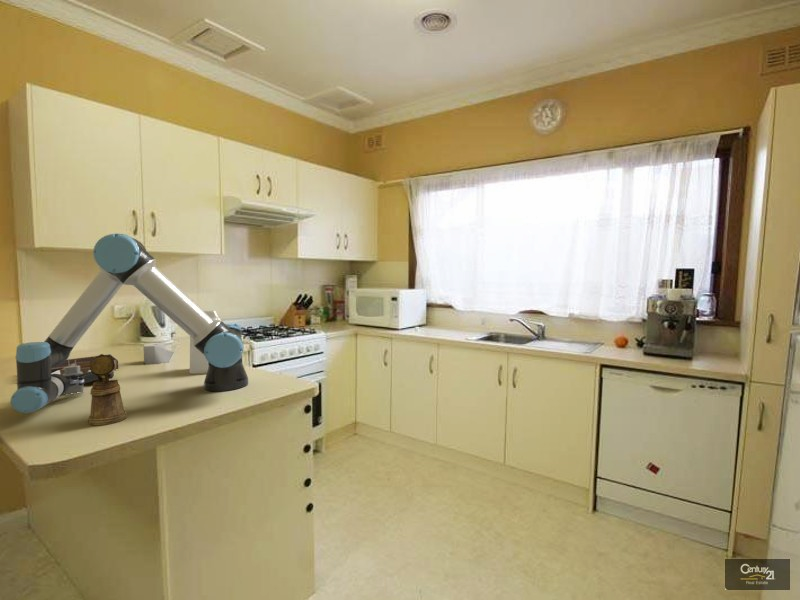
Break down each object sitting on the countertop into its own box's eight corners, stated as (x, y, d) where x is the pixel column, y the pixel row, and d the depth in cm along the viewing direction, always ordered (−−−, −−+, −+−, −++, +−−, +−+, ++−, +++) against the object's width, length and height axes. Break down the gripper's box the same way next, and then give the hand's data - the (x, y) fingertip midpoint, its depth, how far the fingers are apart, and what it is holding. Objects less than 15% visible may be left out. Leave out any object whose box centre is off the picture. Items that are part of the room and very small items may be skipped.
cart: (105, 384, 159) (104, 366, 159) (61, 388, 154) (59, 370, 154) (116, 376, 172) (115, 359, 172) (76, 379, 167) (74, 362, 167)
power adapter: (64, 393, 148) (62, 360, 147) (83, 390, 151) (81, 358, 150) (64, 395, 145) (61, 361, 145) (83, 392, 149) (81, 359, 148)
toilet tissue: (172, 363, 197) (171, 345, 197) (140, 364, 194) (139, 346, 193) (177, 359, 206) (176, 342, 205) (147, 361, 203) (146, 343, 202)
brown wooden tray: (31, 383, 165) (30, 371, 164) (29, 375, 178) (28, 364, 178) (118, 370, 185) (117, 359, 184) (110, 364, 198) (110, 354, 198)
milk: (230, 367, 186) (227, 309, 184) (216, 373, 174) (213, 311, 173) (205, 367, 187) (202, 309, 185) (189, 373, 175) (186, 312, 174)
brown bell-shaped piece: (122, 409, 129) (119, 351, 128) (128, 420, 119) (124, 358, 118) (87, 415, 123) (83, 356, 122) (90, 428, 113) (85, 363, 112)
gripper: (5, 404, 127) (39, 386, 148) (94, 395, 135) (114, 379, 156) (3, 379, 127) (38, 365, 148) (92, 372, 135) (113, 359, 155)
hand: (77, 372), depth 152 cm, fingers open, 10 cm apart
